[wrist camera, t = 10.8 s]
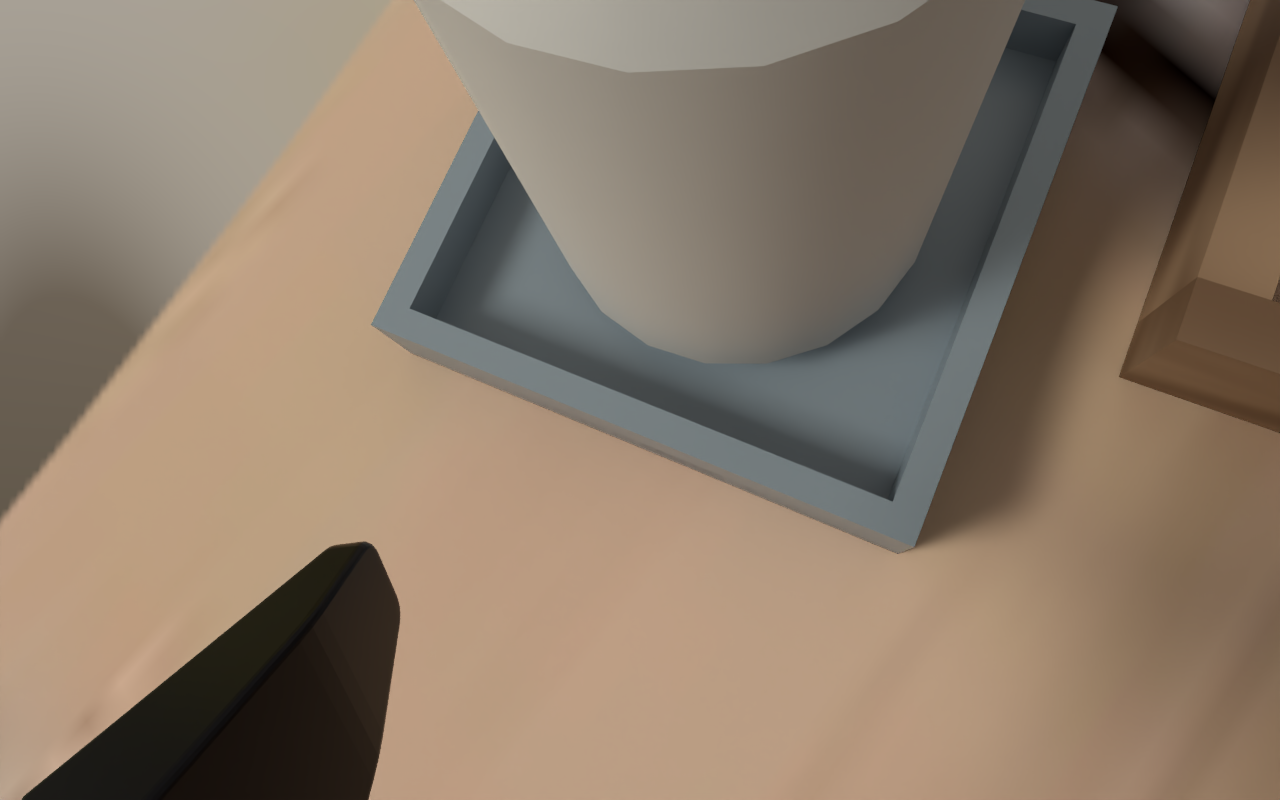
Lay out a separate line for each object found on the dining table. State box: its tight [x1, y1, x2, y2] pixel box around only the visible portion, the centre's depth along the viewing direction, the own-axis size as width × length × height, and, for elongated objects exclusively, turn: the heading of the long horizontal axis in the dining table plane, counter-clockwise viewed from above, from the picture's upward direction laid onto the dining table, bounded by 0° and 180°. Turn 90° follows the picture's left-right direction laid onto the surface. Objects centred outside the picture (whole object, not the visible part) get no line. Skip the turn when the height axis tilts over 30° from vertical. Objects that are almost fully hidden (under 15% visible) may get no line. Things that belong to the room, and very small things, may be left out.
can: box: [414, 0, 1025, 364], centre depth 12 cm, size 8×8×12 cm
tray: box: [371, 0, 1118, 554], centre depth 18 cm, size 11×11×2 cm
